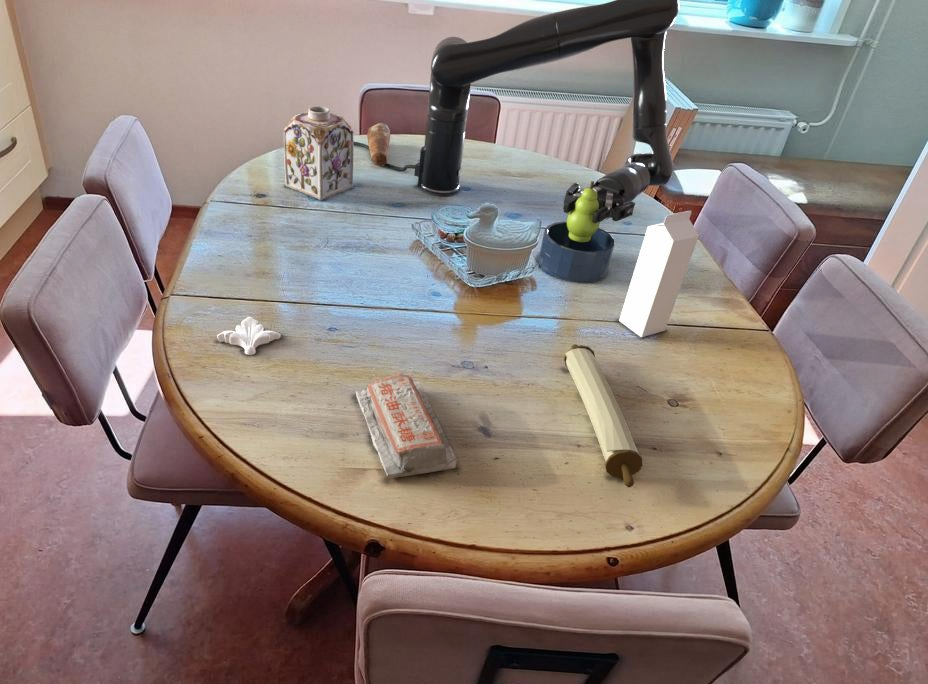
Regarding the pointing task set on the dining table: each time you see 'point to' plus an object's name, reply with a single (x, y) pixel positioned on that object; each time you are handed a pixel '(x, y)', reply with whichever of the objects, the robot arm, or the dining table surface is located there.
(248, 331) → the acanthus leaf ornament
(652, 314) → the milk
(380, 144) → the bread
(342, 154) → the decorative jar
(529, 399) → the dining table surface
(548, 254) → the pot
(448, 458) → the packaged product
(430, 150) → the robot arm
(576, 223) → the pear
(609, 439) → the rolling pin
